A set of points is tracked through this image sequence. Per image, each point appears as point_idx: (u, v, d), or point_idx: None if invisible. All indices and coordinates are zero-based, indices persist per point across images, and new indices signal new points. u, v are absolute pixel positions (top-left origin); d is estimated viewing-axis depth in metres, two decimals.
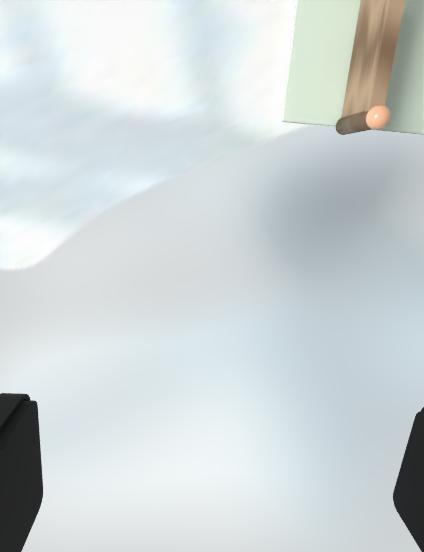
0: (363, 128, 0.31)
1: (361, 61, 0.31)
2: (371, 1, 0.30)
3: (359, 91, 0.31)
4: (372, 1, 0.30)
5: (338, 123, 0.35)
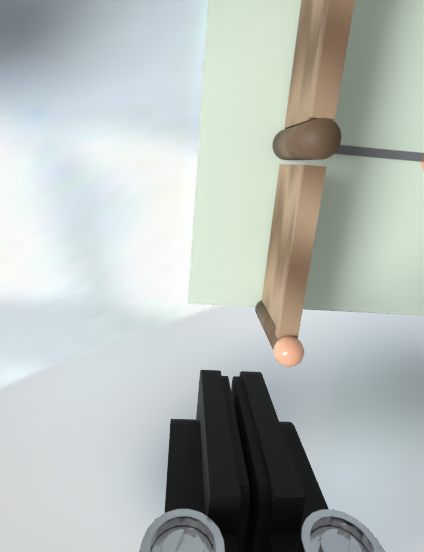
0: None
1: (276, 254, 0.24)
2: (286, 185, 0.23)
3: (274, 292, 0.24)
4: (286, 186, 0.23)
5: (257, 310, 0.27)
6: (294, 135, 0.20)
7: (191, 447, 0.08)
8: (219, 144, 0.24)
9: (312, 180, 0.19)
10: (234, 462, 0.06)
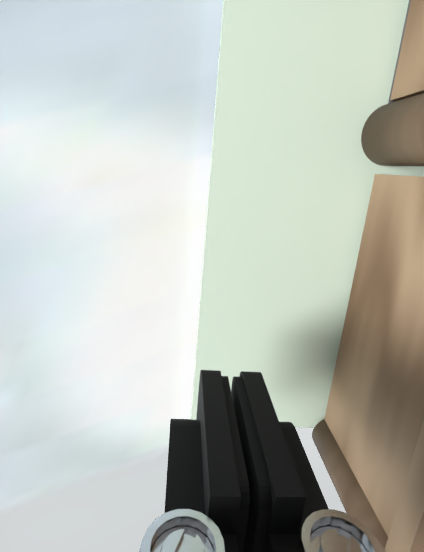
0: None
1: (374, 359, 0.12)
2: (407, 222, 0.10)
3: (368, 438, 0.12)
4: (409, 224, 0.10)
5: (318, 442, 0.15)
6: None
7: (191, 447, 0.08)
8: (255, 134, 0.12)
9: None
10: (234, 462, 0.06)
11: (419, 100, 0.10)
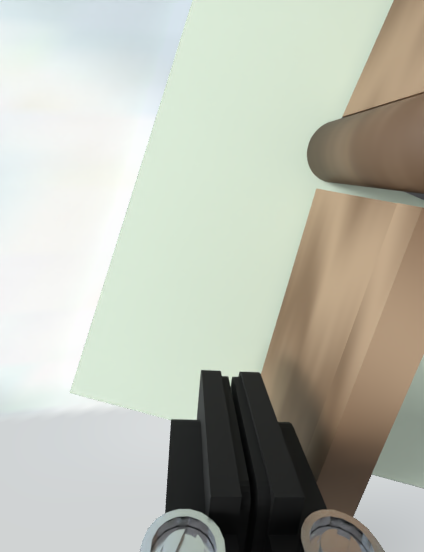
0: None
1: (288, 373, 0.12)
2: (331, 238, 0.10)
3: None
4: (333, 241, 0.10)
5: None
6: (396, 116, 0.07)
7: (191, 447, 0.08)
8: (205, 109, 0.12)
9: None
10: (235, 462, 0.06)
11: (358, 114, 0.10)
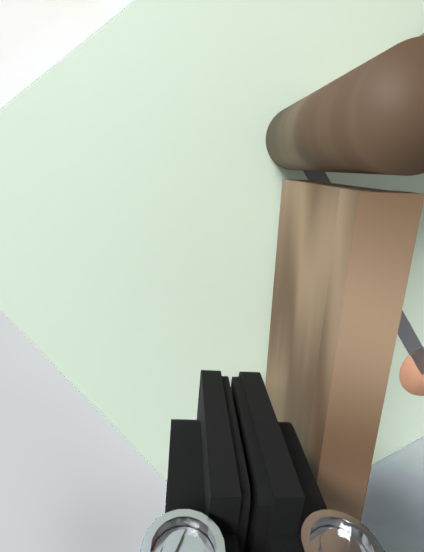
0: None
1: (286, 369, 0.11)
2: (300, 229, 0.10)
3: None
4: (301, 232, 0.10)
5: None
6: None
7: (191, 447, 0.08)
8: (207, 10, 0.11)
9: (381, 236, 0.07)
10: (235, 462, 0.06)
11: None
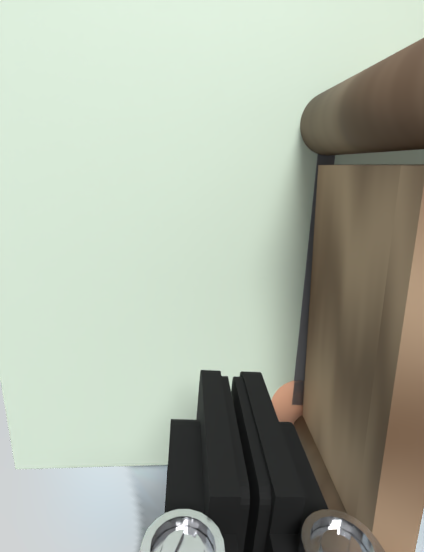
0: None
1: (332, 353, 0.11)
2: (344, 212, 0.10)
3: (334, 433, 0.12)
4: (346, 215, 0.10)
5: None
6: None
7: (191, 447, 0.08)
8: None
9: None
10: (234, 462, 0.06)
11: None
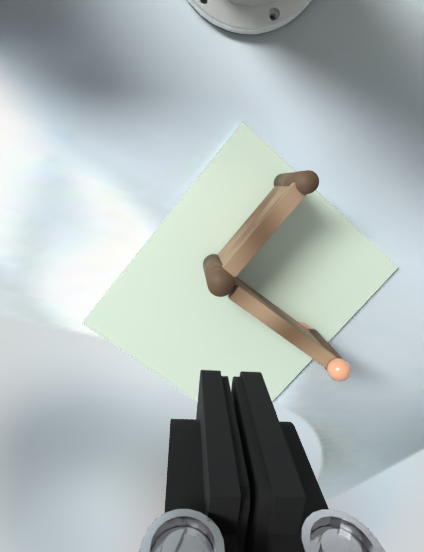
0: None
1: None
2: None
3: None
4: None
5: None
6: (210, 269, 0.28)
7: (191, 447, 0.08)
8: (171, 236, 0.32)
9: (241, 299, 0.27)
10: (234, 462, 0.06)
11: (213, 260, 0.30)
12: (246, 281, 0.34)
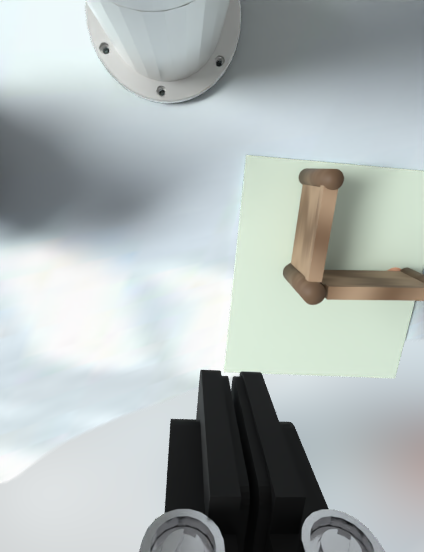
0: None
1: None
2: None
3: None
4: None
5: None
6: (297, 285, 0.32)
7: (191, 447, 0.08)
8: (247, 272, 0.37)
9: (336, 293, 0.31)
10: (234, 462, 0.06)
11: (292, 273, 0.34)
12: (325, 267, 0.37)
